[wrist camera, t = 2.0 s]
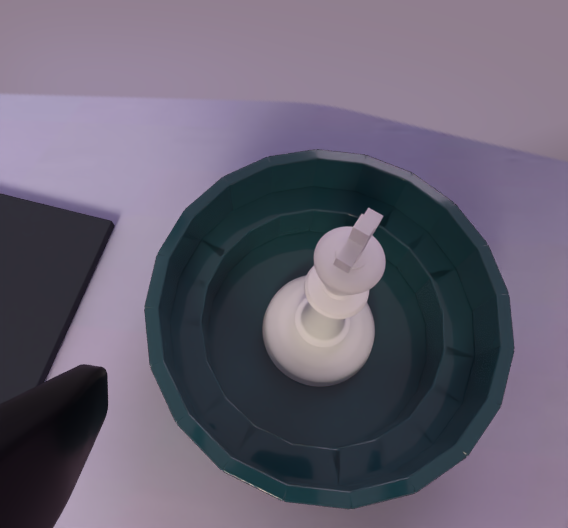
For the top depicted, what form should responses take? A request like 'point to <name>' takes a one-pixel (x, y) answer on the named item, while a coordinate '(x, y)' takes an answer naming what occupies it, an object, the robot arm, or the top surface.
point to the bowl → (385, 351)
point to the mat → (41, 284)
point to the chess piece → (328, 308)
